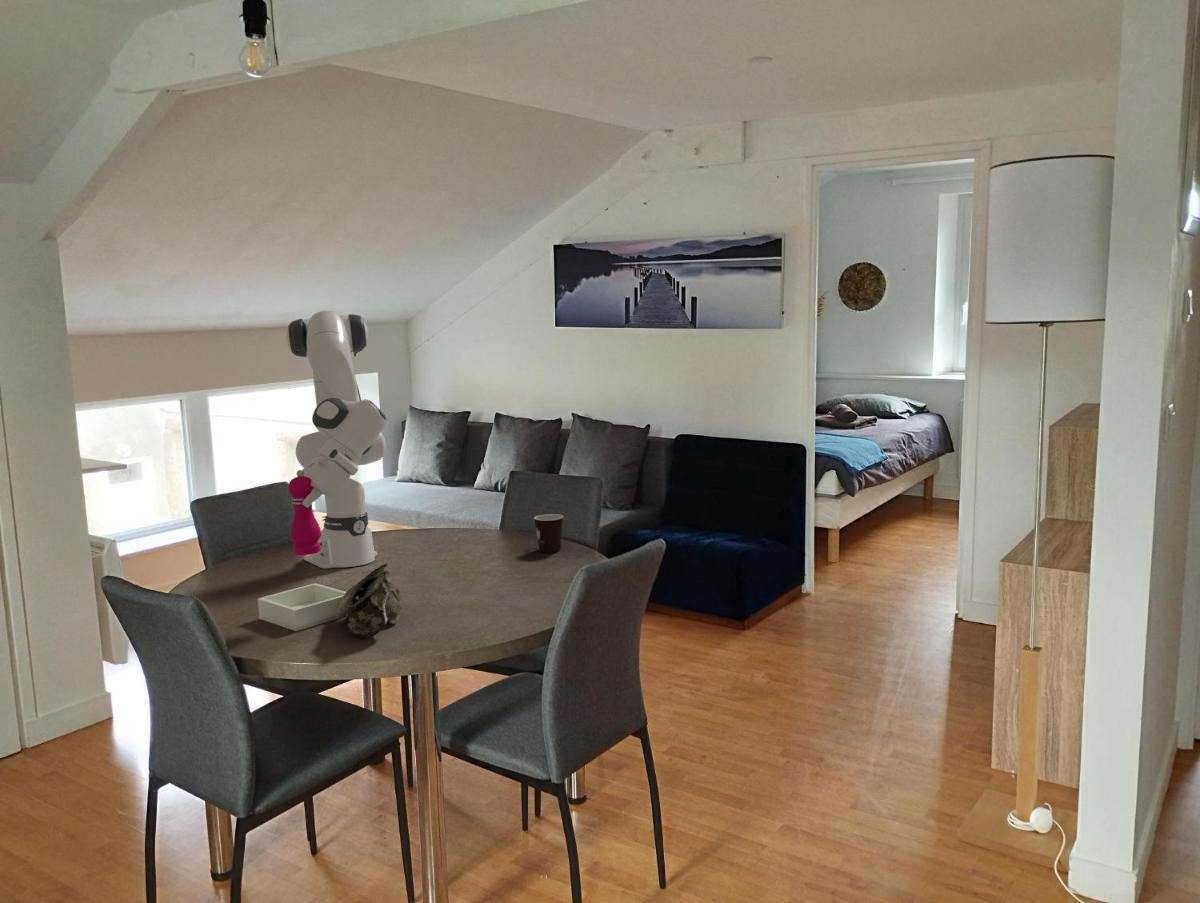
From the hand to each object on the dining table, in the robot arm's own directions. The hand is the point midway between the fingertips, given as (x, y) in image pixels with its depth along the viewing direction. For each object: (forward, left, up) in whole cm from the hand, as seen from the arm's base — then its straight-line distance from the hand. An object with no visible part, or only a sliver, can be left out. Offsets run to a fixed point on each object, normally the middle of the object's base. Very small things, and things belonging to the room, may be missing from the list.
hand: (299, 503), depth 238 cm
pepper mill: (0, +1, -12) cm, 12 cm away
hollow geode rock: (+19, +4, -28) cm, 34 cm away
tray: (0, -1, -28) cm, 28 cm away
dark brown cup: (+4, +80, -28) cm, 85 cm away
